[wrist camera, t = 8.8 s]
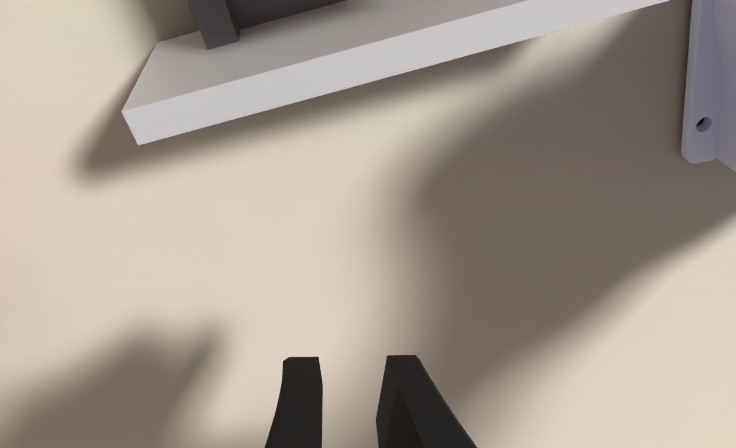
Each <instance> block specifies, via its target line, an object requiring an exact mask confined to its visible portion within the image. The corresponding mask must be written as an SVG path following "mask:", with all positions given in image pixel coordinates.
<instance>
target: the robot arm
mask: <svg viewBox="0 0 736 448" xmlns="http://www.w3.org/2000/svg"><path fill="white" fill-rule="evenodd" d="M704 117H705V119H704V122H703V123H702V124H701V125H699V126H697V127H696V125H697V123H698V122H699V121H700V119H702V118H704ZM681 154H682V156H683V157H684V158H685V159H686V160H687V161H688V162H690V163H693V164H698V163H703V162H707V161H710V160H714V159H718V160H720V161H721V162H722V163H724V164H725V165H726V166H728V167H729V168H730V169H731V170H733V171H734V172H735V173H736V0H692V11H691V25H690V38H689V51H688V64H687V78H686V91H685V104H684V117H683V131H682V144H681ZM322 397H323V385H322V377H321V370H320V364H319V358H318V357H289V358H287V359H286V360H284V361H283V374H282V384H281V390H280V395H279V399H278V404H277V408H276V412H275V416H274V419H273V422H272V426H271V429H270V432H269V436H268V439H267V442H266V445H265V448H322ZM376 425H377V435H378V445H379V448H477V447H476V445H475V444H474V443H473V441H472V440H471V438H470V437H469V436H468V434H467V433H466V431H465V430H464V429H463V427H462V426H461V424H460V423H459V422H458V420H457V419H456V417H455V416H454V414H453V413H452V411H451V410H450V408H449V407H448V405H447V404H446V402H445V401H444V399H443V397H442V396H441V394H440V393H439V391H438V390H437V388H436V386H435V385H434V383H433V382H432V380H431V378H430V377H429V375H428V373H427V371H426V370H425V368H424V366H423V365H422V363H421V361H420V359H419V358H418V357H417V356H416V355H393V356H387V360H386V365H385V371H384V377H383V383H382V388H381V394H380V400H379V405H378V411H377V417H376Z"/></svg>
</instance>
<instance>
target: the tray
mask: <svg viewBox="0 0 736 448" xmlns="http://www.w3.org/2000/svg"><path fill="white" fill-rule="evenodd" d="M665 1H669V0H188V2H189V5H190V7H191V10H192V12H193V15H194V18H195V20H196V23H197V25H198V28H199V30H200V31H197V32H193V33H190V34H186V35H182V36H179V37H175V38H171V39H168V40H164V41H161V42H157V43H156V45H155V47H154V49H153V51H152V53H151V55H150V57H149V59H148V61H147V63H146V65H145V67H144V69H143V70H142V72H141V74H140V76H139V78H138V80H137V82H136V84H135V86H134V88H133V90H132V92H131V94H130V96H129V98H128V100H127V102H126V104H125V106H124V108H123V109H122V111H121V112H122V114H123V116H124V118H125V120H126V122H127V124H128V126H129V128H130V130H131V132H132V134H133V136H134V138H135V140H136V142H137V144H138V145H141V144H145V143H149V142H152V141H156V140H160V139H163V138H167V137H171V136H174V135H178V134H182V133H185V132H189V131H193V130H196V129H200V128H204V127H207V126H211V125H215V124H218V123H222V122H226V121H229V120H233V119H237V118H240V117H244V116H248V115H251V114H255V113H259V112H262V111H266V110H270V109H273V108H277V107H281V106H284V105H288V104H292V103H295V102H299V101H303V100H306V99H310V98H314V97H317V96H321V95H325V94H328V93H332V92H336V91H339V90H343V89H347V88H350V87H354V86H358V85H361V84H365V83H369V82H372V81H376V80H380V79H383V78H387V77H391V76H394V75H398V74H402V73H405V72H409V71H413V70H416V69H420V68H424V67H427V66H431V65H435V64H438V63H442V62H446V61H449V60H453V59H457V58H460V57H464V56H468V55H471V54H475V53H479V52H482V51H486V50H490V49H493V48H497V47H501V46H504V45H508V44H512V43H515V42H519V41H523V40H526V39H530V38H534V37H537V36H541V35H545V34H548V33H552V32H556V31H559V30H563V29H567V28H570V27H574V26H578V25H581V24H585V23H589V22H592V21H596V20H599V19H603V18H607V17H610V16H614V15H618V14H621V13H625V12H629V11H632V10H636V9H640V8H643V7H647V6H651V5H654V4H658V3H662V2H665Z"/></svg>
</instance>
